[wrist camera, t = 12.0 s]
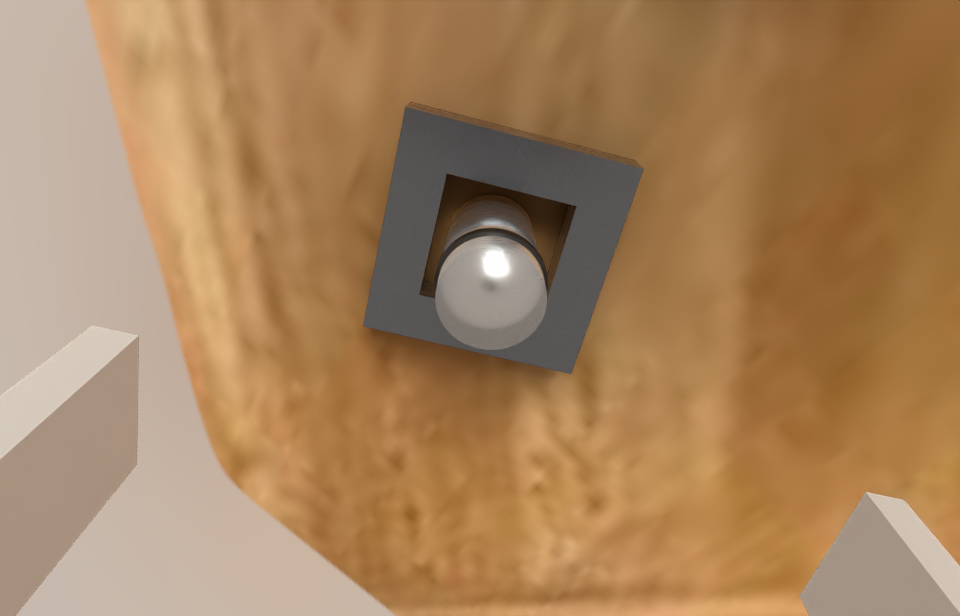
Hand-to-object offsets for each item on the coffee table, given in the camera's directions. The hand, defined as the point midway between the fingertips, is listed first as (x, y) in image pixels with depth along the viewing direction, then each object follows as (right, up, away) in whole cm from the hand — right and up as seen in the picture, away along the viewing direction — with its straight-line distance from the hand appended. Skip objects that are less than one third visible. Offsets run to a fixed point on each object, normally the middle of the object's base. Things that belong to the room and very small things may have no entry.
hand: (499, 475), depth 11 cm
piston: (0, +7, +21) cm, 22 cm away
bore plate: (0, +7, +21) cm, 22 cm away
